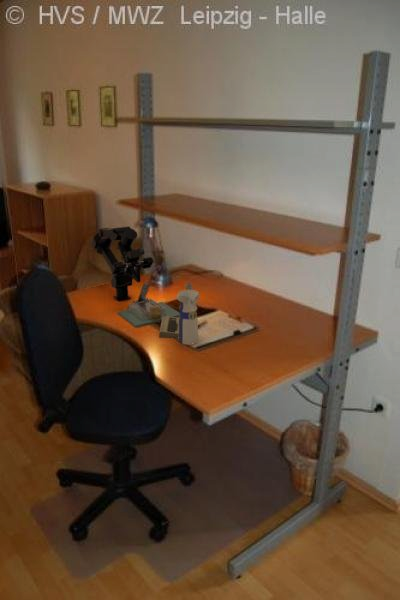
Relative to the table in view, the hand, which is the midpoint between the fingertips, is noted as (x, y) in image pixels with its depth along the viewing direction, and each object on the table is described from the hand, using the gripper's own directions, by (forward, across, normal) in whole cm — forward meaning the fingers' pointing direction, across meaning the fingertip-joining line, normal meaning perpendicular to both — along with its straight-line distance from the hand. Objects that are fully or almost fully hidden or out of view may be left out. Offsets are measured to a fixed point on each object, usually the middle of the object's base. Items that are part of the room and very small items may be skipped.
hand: (139, 281), depth 204 cm
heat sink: (+14, 0, +4) cm, 15 cm away
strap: (+6, 0, 0) cm, 6 cm away
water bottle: (+36, +2, -17) cm, 40 cm away
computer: (+28, +1, -7) cm, 29 cm away
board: (+14, +1, +5) cm, 15 cm away
